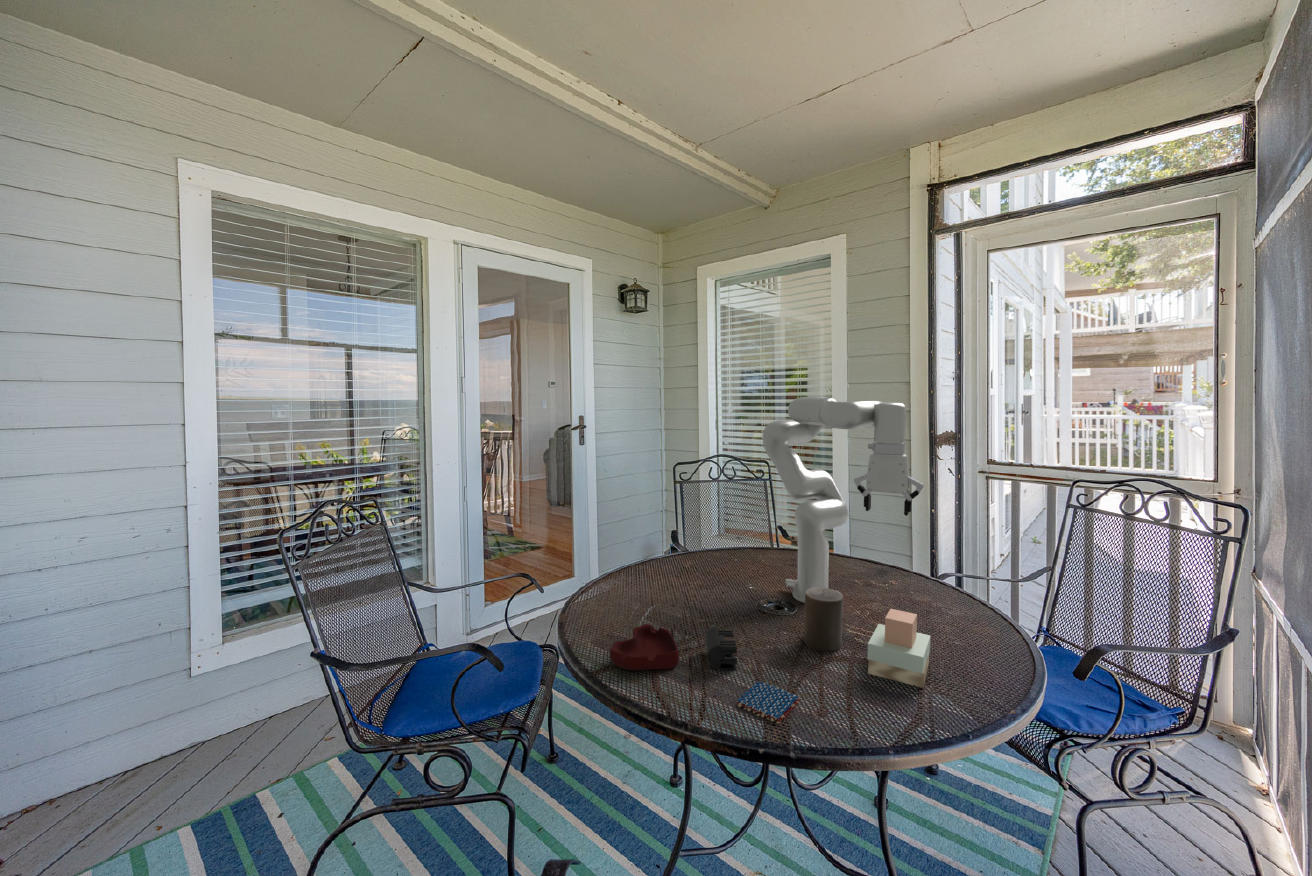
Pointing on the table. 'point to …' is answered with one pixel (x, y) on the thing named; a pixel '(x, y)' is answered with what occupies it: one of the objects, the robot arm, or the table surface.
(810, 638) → the pillar candle
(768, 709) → the woven mat
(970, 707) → the table surface
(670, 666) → the ashtray
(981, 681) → the table surface
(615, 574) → the table surface
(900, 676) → the birch slab
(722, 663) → the end cap
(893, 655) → the sage slab
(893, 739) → the table surface
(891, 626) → the terracotta cube
